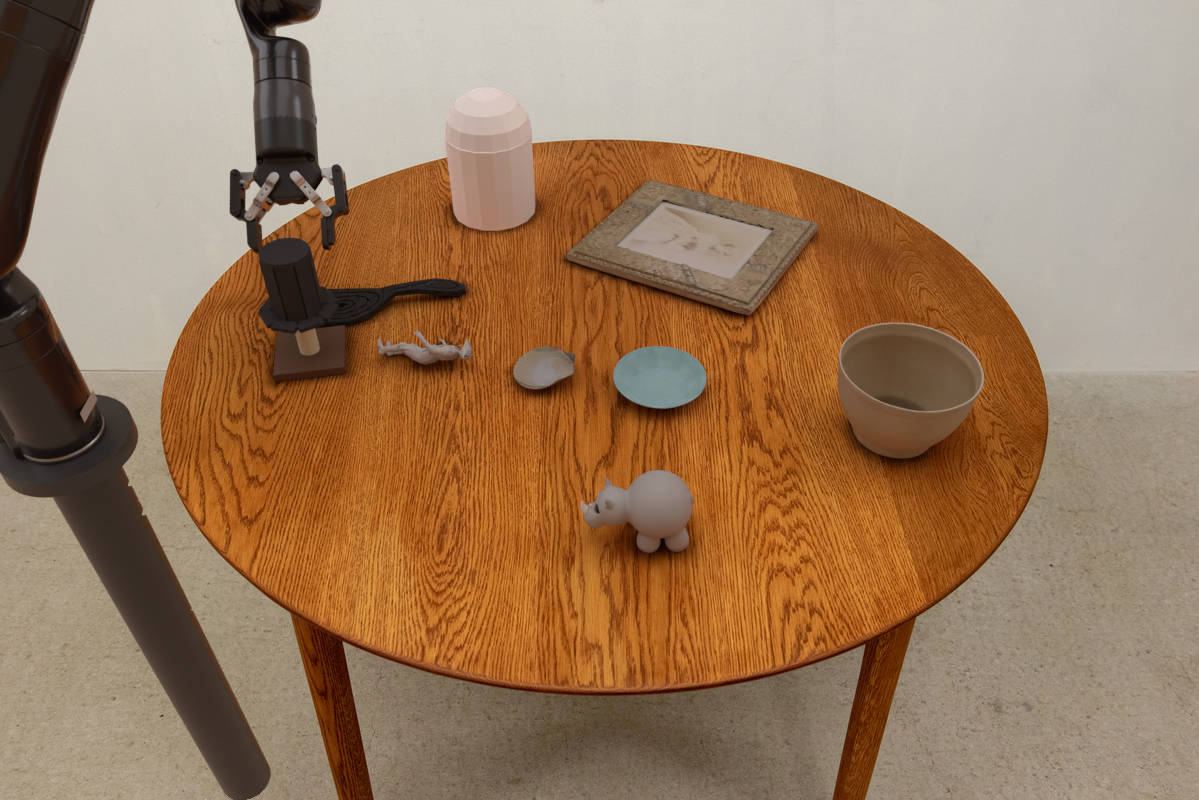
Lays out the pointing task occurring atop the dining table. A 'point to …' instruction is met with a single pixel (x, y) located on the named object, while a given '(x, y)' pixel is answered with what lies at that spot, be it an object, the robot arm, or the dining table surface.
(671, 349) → the saucer
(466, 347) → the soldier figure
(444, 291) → the hairbrush
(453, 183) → the container
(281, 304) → the hat
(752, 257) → the picture frame
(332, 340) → the stand
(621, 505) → the round bodied animal figurine
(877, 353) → the planter bowl
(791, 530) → the dining table surface
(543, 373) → the seashell
